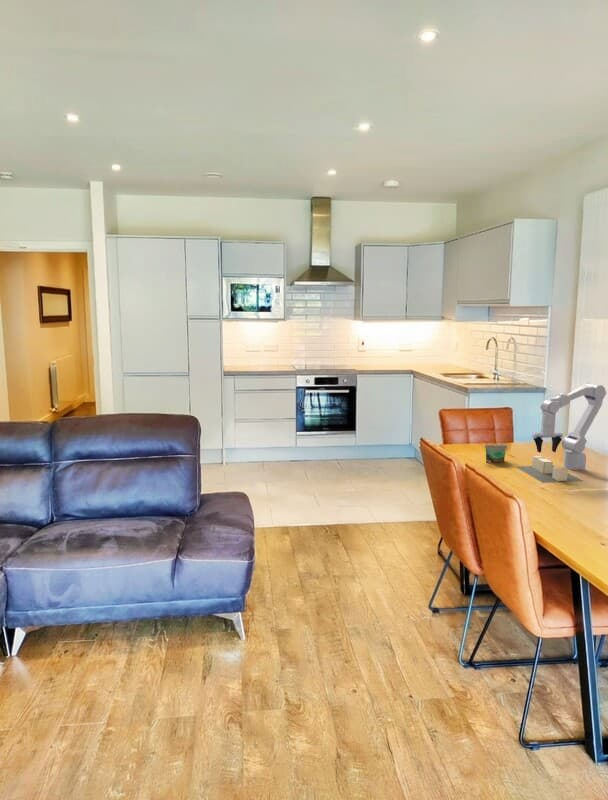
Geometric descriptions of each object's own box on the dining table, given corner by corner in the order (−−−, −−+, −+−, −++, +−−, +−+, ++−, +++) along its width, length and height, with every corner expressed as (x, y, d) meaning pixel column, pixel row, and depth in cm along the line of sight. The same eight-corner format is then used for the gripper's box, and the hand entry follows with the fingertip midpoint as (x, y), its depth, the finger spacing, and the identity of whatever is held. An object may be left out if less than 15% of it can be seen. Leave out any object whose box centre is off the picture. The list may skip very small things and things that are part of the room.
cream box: (540, 466, 277) (540, 456, 276) (552, 473, 266) (553, 462, 265) (531, 467, 276) (532, 456, 275) (543, 473, 266) (544, 462, 265)
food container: (490, 466, 281) (491, 447, 280) (483, 462, 287) (484, 444, 286) (511, 464, 285) (512, 445, 283) (504, 461, 290) (505, 442, 289)
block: (560, 477, 259) (561, 466, 258) (566, 480, 254) (567, 469, 253) (552, 477, 258) (552, 466, 258) (558, 481, 254) (558, 469, 253)
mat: (552, 466, 280) (552, 465, 280) (583, 482, 254) (583, 481, 254) (515, 468, 278) (515, 466, 277) (542, 484, 252) (542, 482, 252)
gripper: (538, 426, 263) (536, 454, 266) (567, 426, 265) (565, 453, 267) (531, 423, 270) (529, 450, 273) (559, 423, 272) (556, 449, 274)
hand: (546, 451), depth 270 cm, fingers open, 7 cm apart
